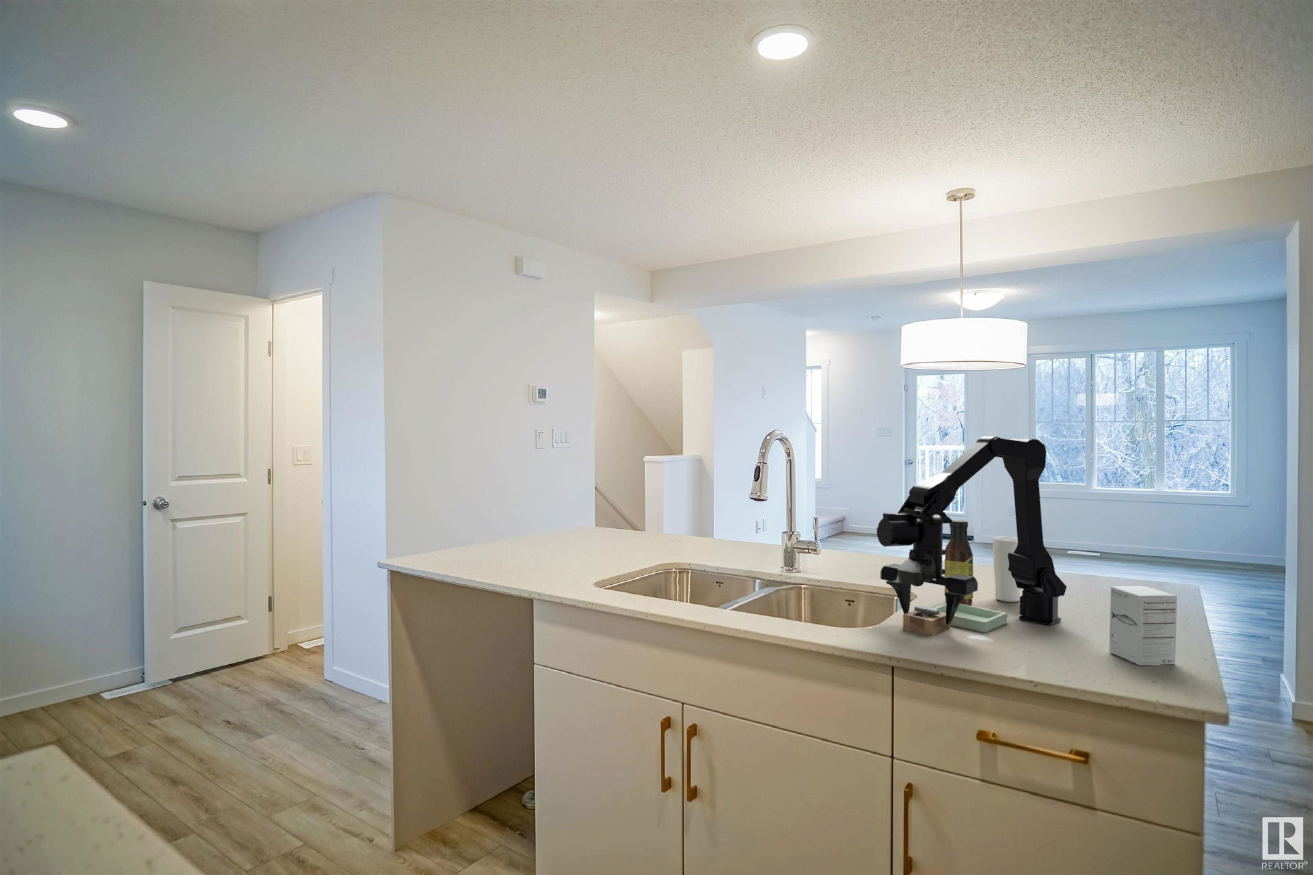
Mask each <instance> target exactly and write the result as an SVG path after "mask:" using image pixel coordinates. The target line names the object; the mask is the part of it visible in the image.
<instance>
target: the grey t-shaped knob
mask: <svg viewBox="0 0 1313 875" xmlns="http://www.w3.org/2000/svg"><path fill="white" fill-rule="evenodd" d="M932 608H933V607H932ZM932 608H931V607H925V606H921V605H916V606H914V608H913V611H918V612H922V615H921V617H923V618H930V617H932V615H938V614H939V610H936V609H932Z"/></svg>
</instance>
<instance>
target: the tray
mask: <svg viewBox="0 0 1313 875" xmlns="http://www.w3.org/2000/svg"><path fill="white" fill-rule="evenodd" d="M946 604H947V603H946V602H945V604H941V605H938V606H935V607H932V609H936V610H939V612H942V613H946ZM1005 623H1006V624H1007V623H1008V612H1004V611H1003V612H1002V611H999V610H993V609H989V608H988V609H987V608H983V607H980V606H974V605H970V606H969V605H964V604H960V605H959V607H958V609H957V611H956V613H955V615H954V617H953V619H952V621H951V623H950V626H953V627H959V628H964V629H968V630H973V631H977V632H981V633H987V632H989V631H992V630H994V629H996V628H998V627H1000V626H1003V625H1006V624H1005Z"/></svg>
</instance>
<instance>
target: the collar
mask: <svg viewBox="0 0 1313 875" xmlns="http://www.w3.org/2000/svg"><path fill="white" fill-rule="evenodd" d="M921 615H922V612H918V611H914V610H912V611H909V613H906V614H904V613H903V615H902V629H903V630H906V631H912V632H914V633H919V634H922V635H923V634H924V635H927V636H931V637H933V636H934V635H937V634H939V633H942V632H944V631H947V630H949V629H951V627H950V626H951V625H950V624H949V625H947V624H946V613H942V612H939V614H938V615H932V617H930V618H923V617H921Z"/></svg>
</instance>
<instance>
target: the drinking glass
mask: <svg viewBox="0 0 1313 875" xmlns="http://www.w3.org/2000/svg"><path fill="white" fill-rule="evenodd" d="M1017 545H1018V540H1017V537H1011V536H994V537H993V538H992V561H993V562H992V564H993V574H994V577H993V578H994V588H995V589H994V592H995V594H994V596H995V599H996V600H998V601H1001V602H1005V603H1017V602H1020V596H1021V588H1017V586H1016V582H1015V579H1014V578H1013V577H1012V575H1011V571H1008V568H1009V560H1008V553H1014V551H1015V549H1016V547H1017Z"/></svg>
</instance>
